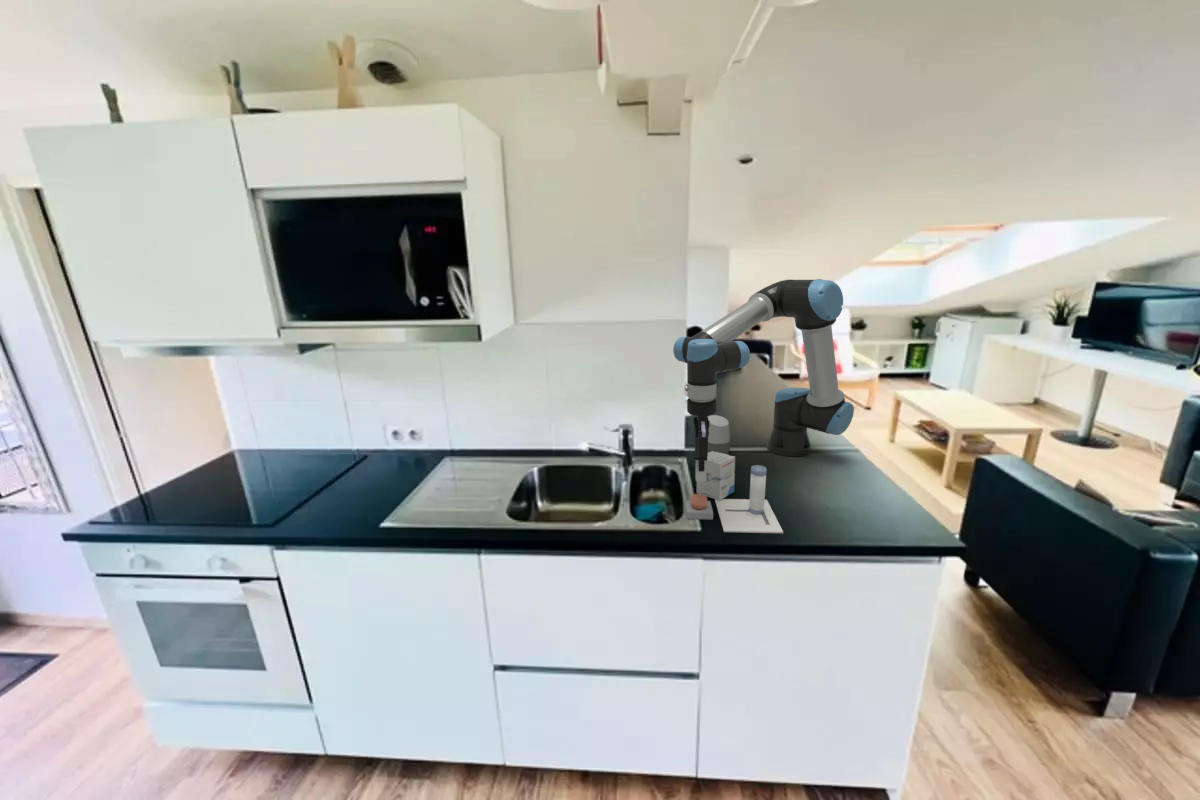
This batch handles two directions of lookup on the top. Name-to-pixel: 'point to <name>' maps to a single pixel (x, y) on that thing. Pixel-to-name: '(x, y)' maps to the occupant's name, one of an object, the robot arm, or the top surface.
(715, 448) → the smart speaker
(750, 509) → the marker
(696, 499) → the button
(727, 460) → the ink box
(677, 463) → the top surface
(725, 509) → the white flat board
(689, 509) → the button box
